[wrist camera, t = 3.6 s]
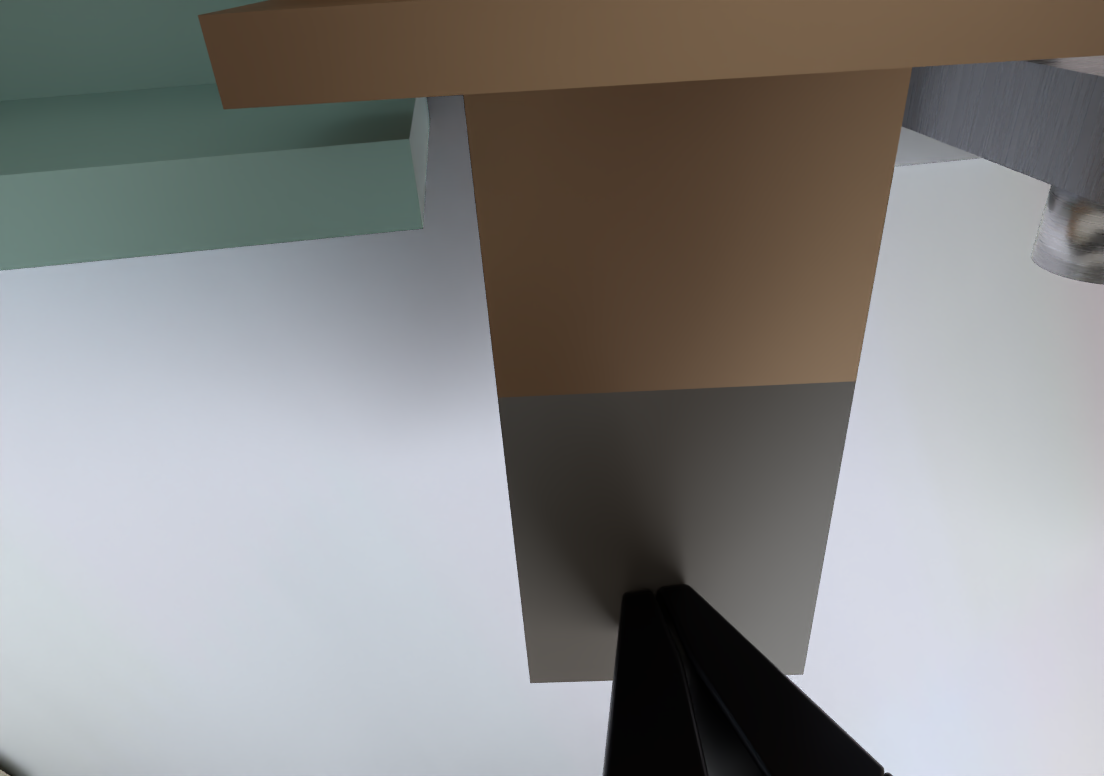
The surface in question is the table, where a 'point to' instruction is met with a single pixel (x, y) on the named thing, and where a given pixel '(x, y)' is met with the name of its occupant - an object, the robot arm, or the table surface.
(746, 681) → the robot arm
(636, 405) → the lever
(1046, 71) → the fulcrum
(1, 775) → the travel mug
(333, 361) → the table surface
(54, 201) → the bin
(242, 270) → the table surface
